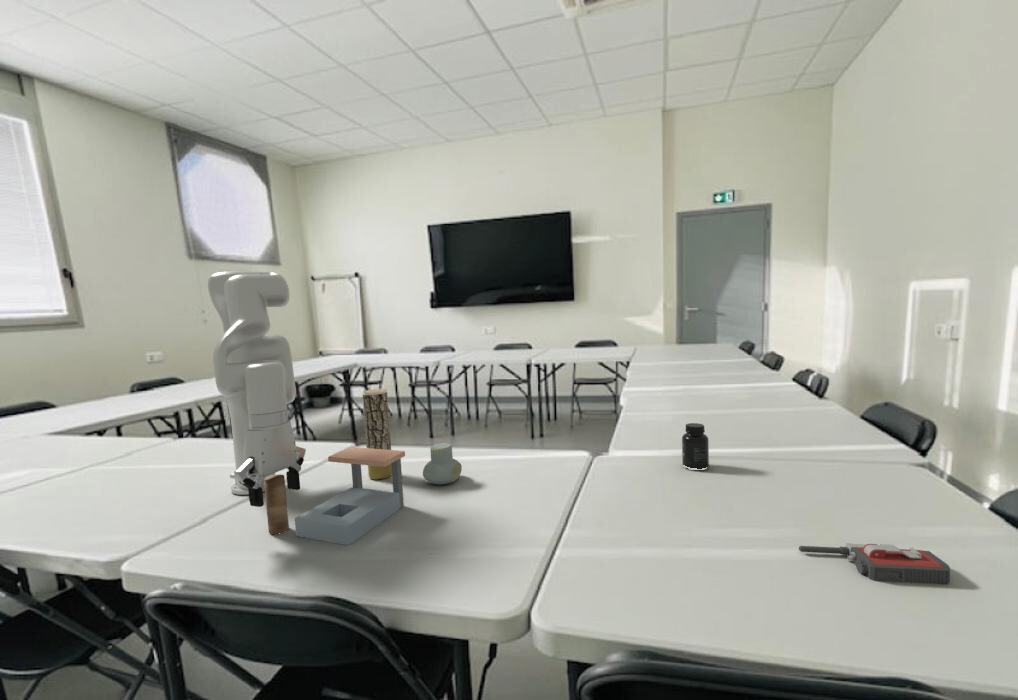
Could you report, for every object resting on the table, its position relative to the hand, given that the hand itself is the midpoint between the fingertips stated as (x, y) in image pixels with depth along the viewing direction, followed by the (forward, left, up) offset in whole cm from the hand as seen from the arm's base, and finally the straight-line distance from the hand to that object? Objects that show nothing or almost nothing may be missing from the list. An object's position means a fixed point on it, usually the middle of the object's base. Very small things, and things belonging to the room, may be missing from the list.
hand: (276, 497), depth 101 cm
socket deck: (+12, +8, -8) cm, 17 cm away
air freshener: (+20, +36, -8) cm, 43 cm away
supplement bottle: (+85, +63, -8) cm, 107 cm away
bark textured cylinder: (0, +35, -8) cm, 36 cm away
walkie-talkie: (+113, +19, -9) cm, 114 cm away
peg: (-1, 0, -8) cm, 8 cm away
